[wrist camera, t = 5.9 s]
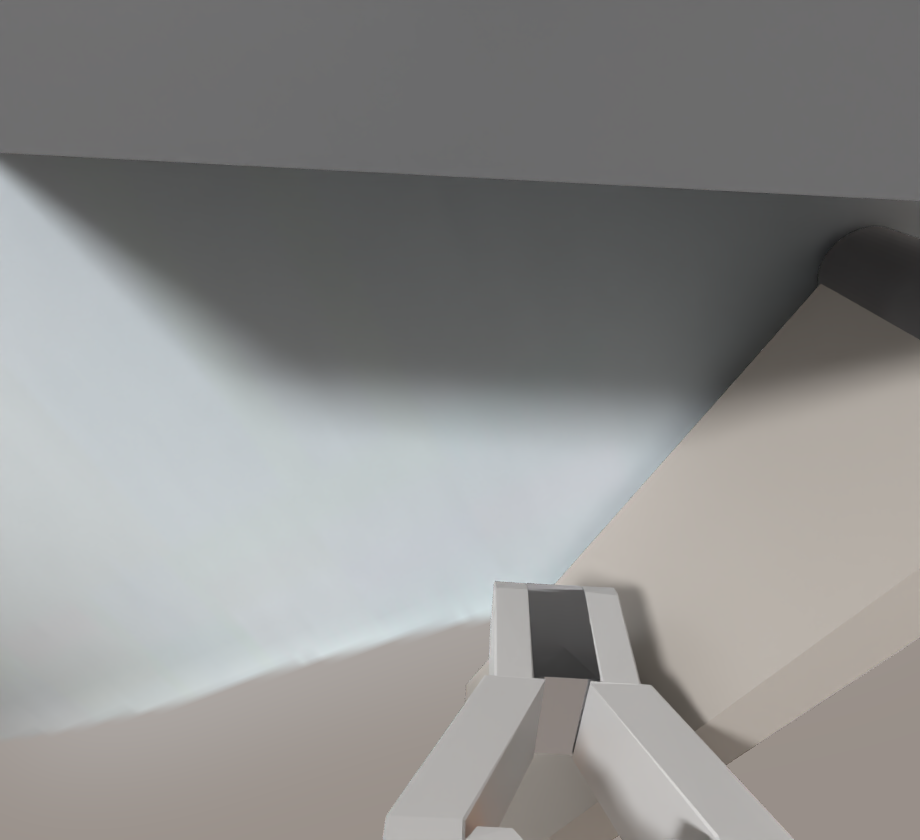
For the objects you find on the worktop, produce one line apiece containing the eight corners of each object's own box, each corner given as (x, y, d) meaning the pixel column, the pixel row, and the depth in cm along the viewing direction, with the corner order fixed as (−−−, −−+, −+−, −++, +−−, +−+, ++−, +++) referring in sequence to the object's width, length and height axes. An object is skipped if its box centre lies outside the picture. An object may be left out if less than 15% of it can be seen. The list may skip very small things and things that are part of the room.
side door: (521, 701, 14) (529, 945, 10) (459, 677, 14) (441, 919, 10) (954, 270, 8) (1411, 440, 4) (862, 210, 8) (1257, 330, 4)
